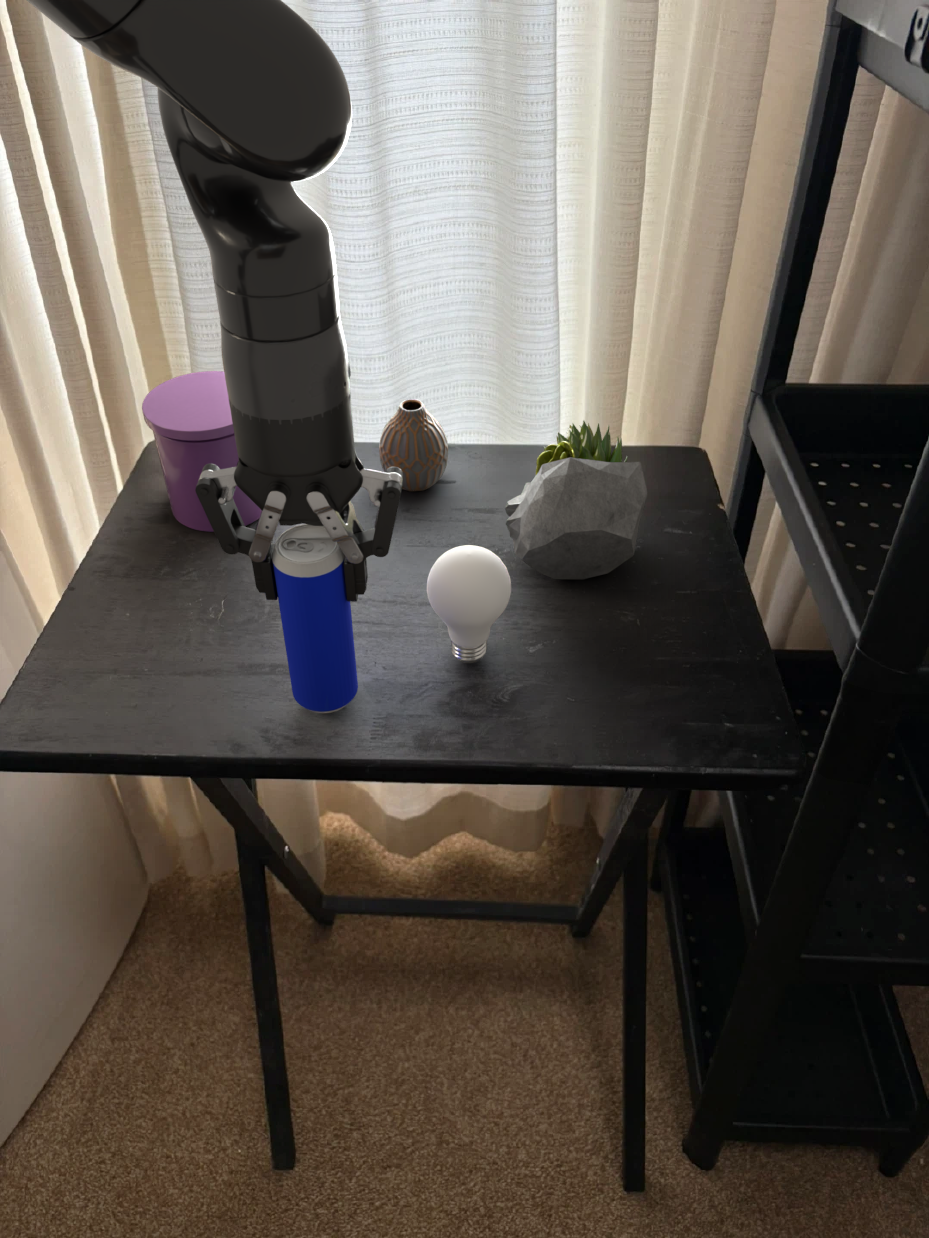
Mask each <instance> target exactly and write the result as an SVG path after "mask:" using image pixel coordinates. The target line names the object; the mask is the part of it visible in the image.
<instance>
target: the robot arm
mask: <svg viewBox="0 0 929 1238" xmlns="http://www.w3.org/2000/svg"><path fill="white" fill-rule="evenodd" d="M26 1H27V3H29V4H31V6H32V7H34V8H36V10H38V11H39V12H40V13H41V14H42V15H44V17H46V18H47V19H49V20H50V21H51V22H52V23H54V25H56V26H57V27H59V28H60V29H61V30H62V31H63V32H64V33H65V34H67V35H68V36H69V37H70V38H72V39H73V40H75V42H76V43H78V44H79V45H81V46H82V47H84V48H85V49H87V50H88V51H89V52H91V53H92V54H94V55H95V56H96V57H98V58H100V59H102V60H103V61H105V62H107V63H109V64H110V65H112V66H114V67H116V68H119V69H120V70H123V71H125V72H128V73H130V74H132V75H134V76H137V77H138V78H141V79H142V80H144V81H146V82H148V83H150V84H151V85H153V86H155V87H156V89H157V101H158V110H159V115H160V120H161V126H162V130H163V133H164V137H165V140H166V143H167V146H168V149H169V152H170V156H171V158H172V161H173V163H174V166H175V168H176V171H177V174H178V176H179V179H180V182H181V185H182V187H183V190H184V193H185V195H186V198H187V200H188V203H189V206H190V208H191V212H192V214H193V216H194V218H195V220H196V223H197V225H198V227H199V229H200V231H201V234H202V236H203V238H204V240H205V243H206V245H207V248H208V252H209V256H210V257H209V258H210V266H211V273H212V278H213V285H214V291H215V296H216V304H217V310H218V315H219V325H220V343H221V344H220V346H221V347H220V350H221V361H222V367H223V368H222V369H223V371H224V375H225V381H226V387H227V392H228V399H229V405H230V411H231V417H232V423H233V429H234V435H235V441H236V447H237V453H238V458H239V461H238V463H237V467H231V468H226V469H220V468H219V467H218V466H217V465H215V464H206V465H205V466H204V467H203V470H202V472H201V475H200V478H199V480H198V483H197V486H196V489H195V492H196V494H197V496H198V498H199V500H200V503H201V505H202V507H203V509H204V511H205V513H206V516H207V518H208V520H209V522H210V524H211V526H212V529H213V531H214V532H213V533H214V535H215V537H216V539H217V541H218V544H219V546H220V548H221V550H222V551H223V553H225V554H227V555H236V554H238V553H240V554H243V555H245V556H247V557H248V558H249V559H250V561H251V566H252V571H253V576H254V584H255V589H256V590H257V592H259V594H265V599H266V601H277V600H278V595H277V588H276V582H275V575H274V569H273V562H272V554H273V550H274V546H275V543H272V542H273V539H274V537H275V534H276V532H277V531H276V530H277V527H278V525H279V526H285V527H288V526H292V527H293V526H297V525H302V524H308V525H312V526H324V527H325V529H326V531H327V533H328V534H329V536H330V538H331V539H332V541H333V542H337V544H338V545H339V547H340V549H341V550H342V552H343V554H344V555H345V558H344V575H345V585H346V596H347V601H348V602H350V603H351V602H353V603H354V602H356V603H357V602H358V598H359V596H361V595H362V596H364V595H365V593H366V590H367V585H368V579H369V575H368V561H367V558H368V557H371V556H374V557H377V558H384V557H386V556H387V555H388V554H389V552H390V548H391V542H392V538H393V534H394V530H395V529H394V528H395V523H396V519H397V515H398V511H399V507H400V506H399V505H400V501H401V497H402V490H403V489H402V481H403V472H402V470H401V469H400V468H398V467H394V466H393V467H389V468H388V469H387V470H386V472H384V471H380V470H375V469H370V468H365V467H364V464H363V462H362V461H361V460H360V458H359V457H358V455H357V452H356V448H355V447H356V446H355V436H354V435H355V434H354V421H353V410H352V409H353V408H352V398H351V397H352V395H351V385H350V379H351V377H352V375H351V374H352V373H351V365H350V361H349V357H348V349H347V342H346V338H345V333H344V329H343V325H342V324H343V323H342V320H341V312H340V299H339V297H340V296H339V286H338V273H337V272H338V271H337V264H336V263H337V262H336V254H335V246H334V241H333V236H332V233H331V232H332V231H331V230H330V228H329V225H328V224H327V222H326V221H325V219H324V218H322V216H321V215H320V214H318V213H317V212H316V210H314V209H313V208H312V207H311V206H310V205H308V203H306V201H304V200H303V199H302V197H301V196H300V195H299V194H298V193H297V192H296V191H297V190H295V188H294V186H293V184H292V183H295V182H302V181H307V180H310V179H312V178H315V177H317V176H319V175H320V174H322V173H324V172H326V171H327V170H328V169H329V168H330V167H331V166H332V165H333V164H334V163H335V162H337V160H338V158H339V157H340V156H341V155H342V152H343V151H344V149H345V147H346V145H347V143H348V140H349V136H350V133H351V128H352V121H353V120H352V119H353V106H352V104H353V103H352V97H351V92H350V89H349V85H348V81H347V77H346V75H345V73H344V70H343V68H342V66H341V63H340V62H339V60H338V58H337V57H336V55H335V53H334V52H333V50H332V49H331V48H330V46H329V45H328V44H327V43H326V41H325V40H324V39H323V38H322V36H321V35H320V34H319V33H318V32H317V31H316V30H315V29H314V28H313V27H312V26H311V25H310V23H308V22H307V21H306V20H305V19H304V18H302V17H301V15H299V14H298V13H297V12H296V11H295V10H294V9H293V8H291V7H290V6H289V5H287V3H285V2H284V1H282V0H26ZM235 486H238V487H239V488H240V489H241V490H242V491H243V492H244V493H245V494H246V495H247V496H248V497H249V498H250V499H251V500H252V501H253V502H254V503H255V504H256V505H257V506H258V507H259V508H260V509H261V510H262V511H261V515H260V518H259V519H258V520H257V524H256V527H255V529H254V528H250V527H246V526H245V525H244V523H243V521H242V518H241V516H240V514H239V511H238V509H237V507H236V504H235V502H234V500H233V495H234V492H235ZM361 488H363V489H364V490H366V491H367V492H368V498H369V501H370V502H371V503H372V504H373V505H374V507H377V513H376V517H375V522H374V527H373V528H369V529H366V530H364V528H363V526H362V524H361V523H360V521H359V519H358V517H357V515H356V510H355V506H354V504H353V503H352V499H354V497H355V496H356V494H357V493H358V492H359V491H360V490H361Z"/></svg>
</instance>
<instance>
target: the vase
mask: <svg viewBox="0 0 929 1238" xmlns="http://www.w3.org/2000/svg"><path fill="white" fill-rule="evenodd" d="M378 456H379V462H380V465H381V469H382V470H383V472H386V470H387V469H388V468H389V467H393V466H394V467H398V468H400V469H401V470H402V472H403V481H402V489H401V490H404V491H408V492H421V491H425V490H427V489H430V488H431V487H432V486H434V485H435V484H436V483H438V481H440V479H441V478H442V477H443V475H444V473H445V471H446V468H447V465H448V461H449V443H448V439H447V436H446V432H445V430H444V428H443V427H442V424H441V423H440V422H439V421H438V419H437V418H436V417H435V416H433V414H431V412H429V410H428V409H427V408H426V405H425V404H424V402H423V401H421V400H420V399H415V398H414V399H413V398H410V399H409V398H408V399H405V400H403V401H401V402H400V403H399V404H398V407H397V409H396V411H395V413H394V414H393V415H392V416H391V417H390V419H389V420H388V421H387V422H386V424H385V425H384V427H383V429H382V431H381V435H380V439H379V444H378Z"/></svg>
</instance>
